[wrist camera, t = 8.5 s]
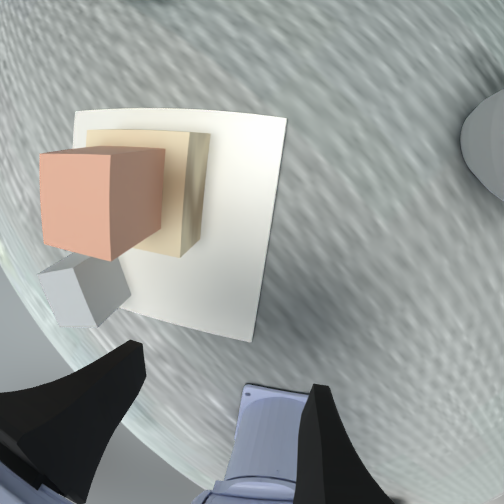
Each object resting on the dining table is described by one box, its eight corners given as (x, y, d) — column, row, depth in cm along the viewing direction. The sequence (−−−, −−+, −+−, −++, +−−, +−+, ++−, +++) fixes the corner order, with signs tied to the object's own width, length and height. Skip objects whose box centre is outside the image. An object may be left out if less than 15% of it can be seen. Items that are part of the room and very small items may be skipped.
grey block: (131, 295, 23) (97, 327, 18) (93, 298, 24) (59, 327, 20) (113, 242, 22) (72, 267, 17) (76, 251, 23) (36, 274, 18)
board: (252, 338, 23) (251, 342, 23) (84, 292, 25) (80, 294, 24) (287, 119, 17) (286, 118, 17) (80, 111, 19) (75, 111, 18)
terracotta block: (160, 228, 17) (111, 261, 12) (99, 217, 17) (44, 244, 13) (165, 148, 15) (110, 155, 10) (100, 145, 16) (39, 153, 11)
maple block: (200, 239, 20) (180, 258, 17) (114, 223, 21) (86, 237, 18) (210, 133, 18) (189, 132, 14) (117, 129, 19) (86, 129, 15)
